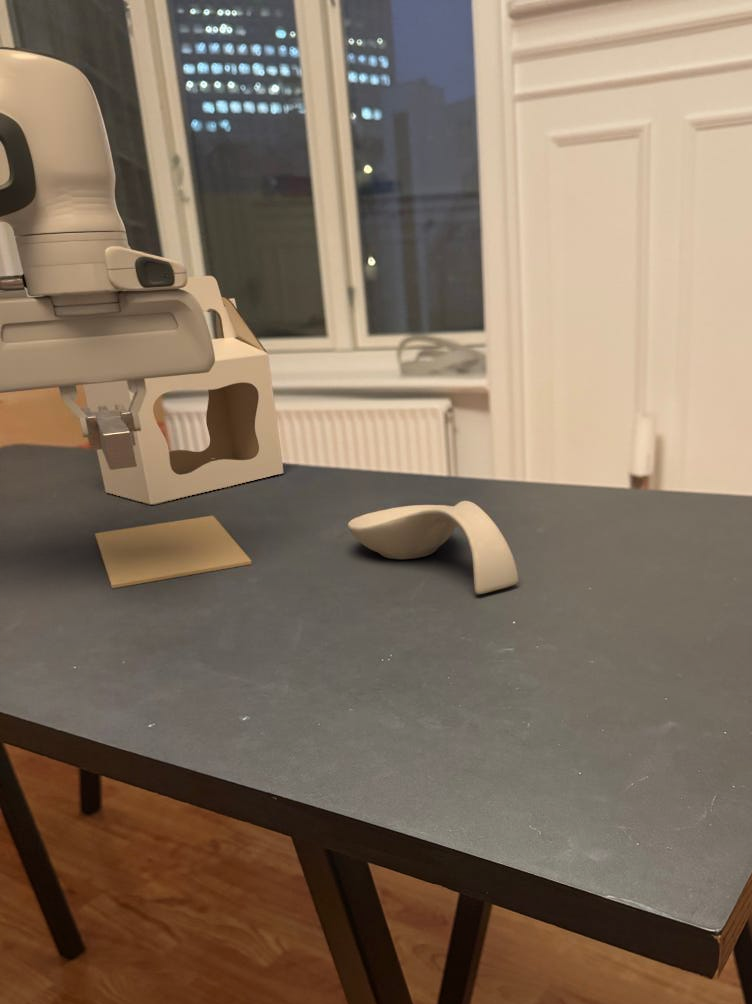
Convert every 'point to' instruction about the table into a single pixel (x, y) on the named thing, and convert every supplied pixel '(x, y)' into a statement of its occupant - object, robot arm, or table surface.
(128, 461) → the fork
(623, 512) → the table surface
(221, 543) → the place mat
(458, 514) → the spoon rest
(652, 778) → the table surface
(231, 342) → the gable box
